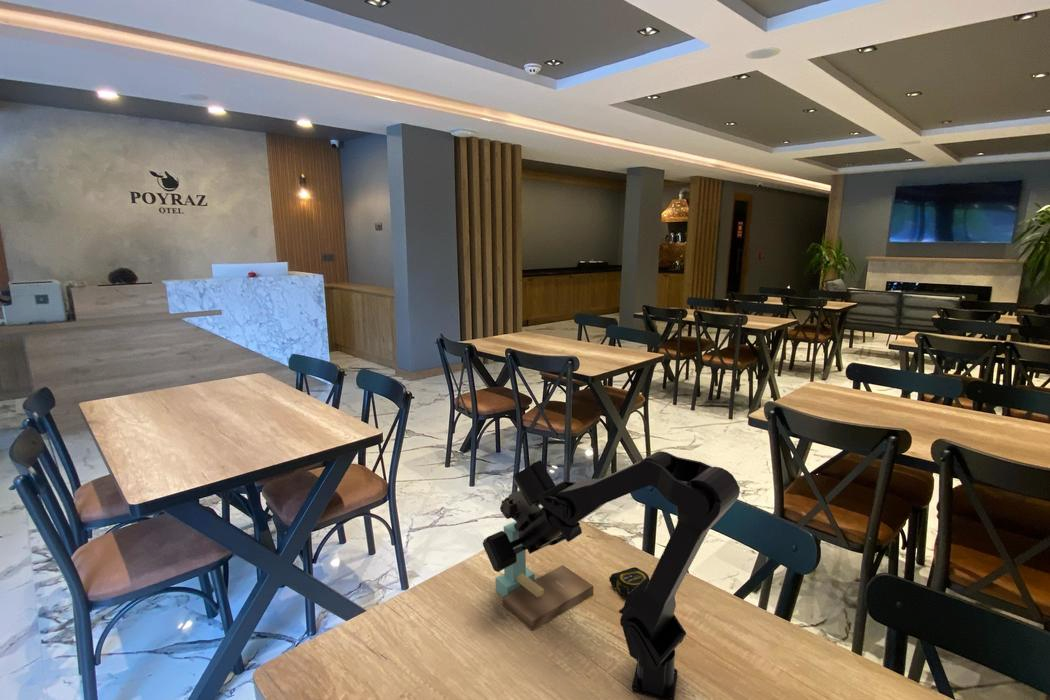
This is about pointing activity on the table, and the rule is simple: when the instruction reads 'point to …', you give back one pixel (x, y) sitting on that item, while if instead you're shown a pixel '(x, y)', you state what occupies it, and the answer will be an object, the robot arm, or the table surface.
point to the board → (548, 597)
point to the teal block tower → (517, 571)
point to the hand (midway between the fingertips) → (511, 551)
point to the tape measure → (627, 580)
